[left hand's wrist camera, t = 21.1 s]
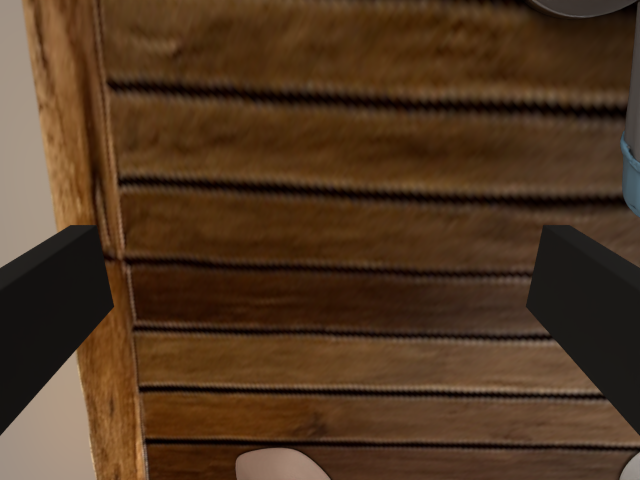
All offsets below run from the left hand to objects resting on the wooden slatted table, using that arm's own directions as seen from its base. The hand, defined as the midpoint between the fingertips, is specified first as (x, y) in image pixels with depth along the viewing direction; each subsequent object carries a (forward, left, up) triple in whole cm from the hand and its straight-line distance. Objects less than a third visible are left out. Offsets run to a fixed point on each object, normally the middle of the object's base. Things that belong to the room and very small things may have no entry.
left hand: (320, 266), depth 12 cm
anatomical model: (+5, +45, -28) cm, 53 cm away
